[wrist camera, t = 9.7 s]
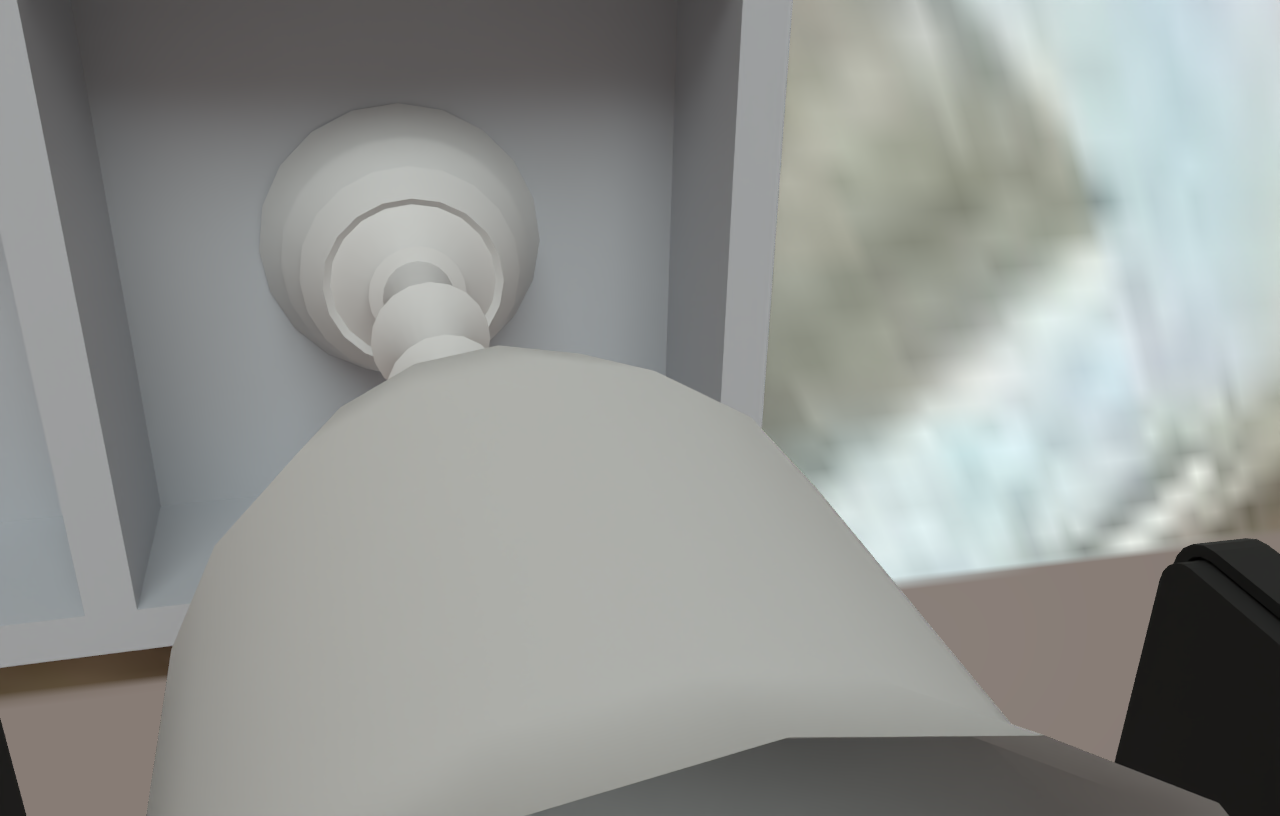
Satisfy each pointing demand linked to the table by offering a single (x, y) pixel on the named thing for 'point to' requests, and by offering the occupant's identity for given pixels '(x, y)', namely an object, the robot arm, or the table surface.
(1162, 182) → the table surface
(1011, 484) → the table surface
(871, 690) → the chalice
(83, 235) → the holder
